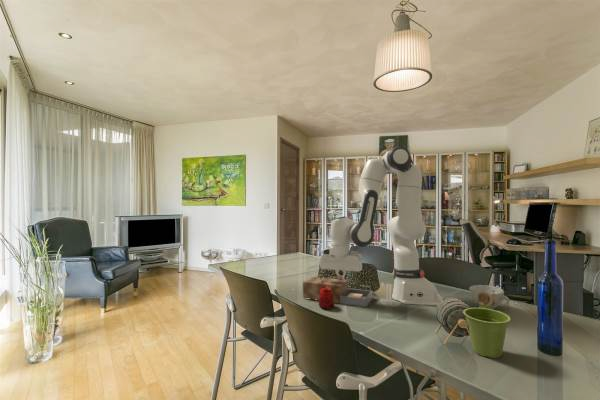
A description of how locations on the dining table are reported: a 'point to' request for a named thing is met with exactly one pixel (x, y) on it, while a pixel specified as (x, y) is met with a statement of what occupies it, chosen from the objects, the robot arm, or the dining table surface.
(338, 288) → the brown rectangular box
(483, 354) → the plant pot
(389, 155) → the robot arm
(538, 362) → the dining table surface
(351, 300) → the box
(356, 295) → the tile
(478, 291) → the teacup
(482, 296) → the snail figurine
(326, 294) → the red clay folk toy
